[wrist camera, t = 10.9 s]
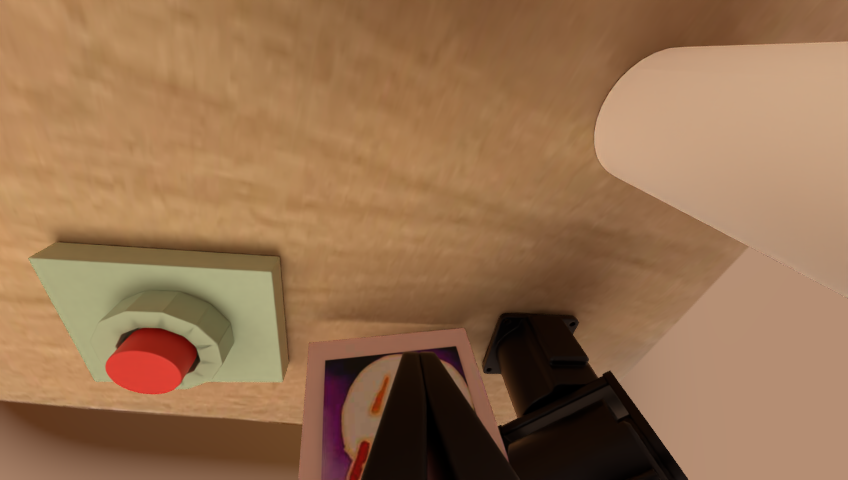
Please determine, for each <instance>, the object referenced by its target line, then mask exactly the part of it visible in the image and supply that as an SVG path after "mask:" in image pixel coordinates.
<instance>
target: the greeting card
mask: <svg viewBox="0 0 848 480" xmlns="http://www.w3.org/2000/svg"><path fill="white" fill-rule="evenodd" d="M405 351H415V352H418V353H420V352H434V353H435V354H436V355H437V356H438V358H439V359H440V361H441V362H442V364H443V365H444V367H445V368H446V370H447V371H448V373H449V374H450V376H451V377H452V379H453V380H454V382H455V383H456V385H457V386H458V388H459V389H460V391H461V392H462V394H463V395H464V396H465V398H466V399H467V401H468V402H469V404H470V405H471V407H472V408H473V410H474V411H475V413H476V414H477V416H478V417H479V419H480V420H481V422H482V423H483V425H484V426H485V428H486V429H487V431H488V432H489V434H490V435H491V437H492V438H493V440H494V441H495V443H496V444H497V446H498V447H499V449H500V450H501V452H502V453H503V455H504V456H505V458H506V459H507V461H508V456H507V453H506V450H505V447H504V444H503V441H502V438H501V435H500V432H499V429H498V426H497V423H496V420H495V417H494V414H493V411H492V408H491V405H490V402H489V399H488V396H487V393H486V390H485V388H484V385H483V382H482V379H481V376H480V373H479V370H478V367H477V364H476V361H475V358H474V355H473V352H472V349H471V346H470V343H469V340H468V337H467V334H466V331H465V328H458V329H448V330H437V331H427V332H417V333H406V334H396V335H385V336H375V337H365V338H354V339H344V340H333V341H323V342H313V343H309V350H308V363H307V376H306V389H305V402H304V415H303V428H302V440H301V453H300V466H299V480H361V477H362V474H363V471H364V468H365V465H366V462H367V459H368V456H369V453H370V450H371V447H372V444H373V441H374V438H375V435H376V432H377V429H378V426H379V423H380V420H381V417H382V414H383V411H384V408H385V405H386V402H387V399H388V396H389V393H390V390H391V387H392V384H393V381H394V378H395V375H396V372H397V369H398V366H399V363H400V360H401V357H402V354H403V352H405ZM508 462H509V461H508Z"/></svg>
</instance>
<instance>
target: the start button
mask: <svg viewBox="0 0 848 480" xmlns="http://www.w3.org/2000/svg"><path fill="white" fill-rule="evenodd" d="M196 357H197V349H196V347H195V346H194V345H193V344H192V343H191V342H190V341H189V340H187V339H186V338H185V337H184V336H181V335H179V334H176V333H173V332H170V331H167V330H165V329H162V328H141V329H138V330H136V331H134V332H133V333H132V334H131V335H130V336H129V337H128V338H127V339H126V340H125V341H124V342H123V343H122V344H121V345H120V346H119V348H118V349H117V350H116V351H115V352H114V353H113V354H112V355H111V356H110V357H109V358H108V360H107V362H106V365H105V369H106V372H107V374H108V376H109V377H110V378H111V379H112V380H113V381H114V382H115V383H116V384H118V385H120V386H121V387H123V388H126V389H128V390H131V391H134V392H138V393H144V394H161V393H166V392H169V391H172V390H174V389H175V388H177V387H178V386H179V385H180V383H181V382H182V380H183V379H184V377H185V375H186V374H187V372H188V371H189V369H190V367H191V366H192V364H193V363H194V361H195V359H196Z"/></svg>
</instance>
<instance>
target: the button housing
mask: <svg viewBox="0 0 848 480" xmlns="http://www.w3.org/2000/svg"><path fill="white" fill-rule="evenodd" d="M28 259H29V261H30V263H31V265H32V266H33V268H34V270H35V272H36V274H37V276H38V277H39V279H40V281H41V283H42V285H43V287H44V288H45V290H46V292H47V294H48V296H49V298H50V299H51V301H52V303H53V305H54V307H55V309H56V311H57V312H58V314H59V316H60V318H61V320H62V322H63V323H64V325H65V327H66V329H67V331H68V333H69V334H70V336H71V338H72V340H73V342H74V344H75V345H76V347H77V349H78V351H79V353H80V355H81V356H82V358H83V360H84V362H85V364H86V366H87V368H88V369H89V371H90V373H91V375H92V377H93V379H94V380H95V381H96V382H114V381H113V380H112V379H111V378H110V377H109V376H108V374H107V372H106V369H105V365H106V362H107V360H108V358H109V357H110V356H111V355H112V354H113V353H114V352H115V351H116V350H117V349H118V348H119V346H120V345H121V344H122V343H123V342H124V341H125V340H126V339H127V338H128V337H129V336H130V335H131V334H132V333H133V332H134V331H136V330H138V329H141V328H162V329H165V330H167V331H170V332H173V333H176V334H179V335H181V336H184V337H185V338H186V339H187V340H189V341H190V342H191V343H192V344H193V345H194V346H195V347H196V349H197V357H196V359H195V361H194V363H193V364H192V366H191V367H190V369H189V371H188V372H187V374H186V375H185V377H184V379H183V380H182V382H181V383H180V385H179V386H178V387H177V388H175V389H190V388H192V387H195V386H198V385H200V384H203V383H206V382H283V380H284V377H285V374H286V371H287V367H288V364H289V361H288V349H287V337H286V325H285V314H284V302H283V290H282V278H281V266H280V257H278V256H262V255H247V254H232V253H216V252H201V251H185V250H170V249H155V248H139V247H124V246H108V245H93V244H78V243H62V242H56V243H54V244H52V245H50V246H49V247H47V248H45V249H43V250H41V251H40V252H38V253H36V254H34V255H33V256H31V257H29V258H28Z"/></svg>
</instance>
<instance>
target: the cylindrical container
mask: <svg viewBox="0 0 848 480" xmlns="http://www.w3.org/2000/svg"><path fill="white" fill-rule="evenodd" d="M594 146H595V151H596V155H597V158H598V160H599V162H600V164H601V165H602V166H603V167H604V169H605V170H606V171H607V172H609V173H610V174H612V175H613V176H615V177H617V178H619V179H621V180H623V181H625V182H626V183H628V184H630V185H632V186H634V187H636V188H638V189H640V190H642V191H644V192H646V193H648V194H649V195H651V196H653V197H655V198H657V199H659V200H661V201H663V202H665V203H667V204H669V205H671V206H672V207H674V208H676V209H678V210H680V211H682V212H684V213H686V214H688V215H690V216H692V217H694V218H695V219H697V220H699V221H701V222H703V223H705V224H707V225H709V226H711V227H713V228H715V229H716V230H718V231H720V232H722V233H724V234H726V235H728V236H730V237H732V238H734V239H735V240H737V241H739V242H741V243H743V244H745V245H747V246H749V247H751V248H753V249H755V250H757V251H758V252H761V253H762V254H764V255H766V256H768V257H770V258H772V259H774V260H776V261H777V262H779V263H781V264H783V265H785V266H787V267H789V268H791V269H793V270H795V271H797V272H798V273H800V274H802V275H804V276H806V277H808V278H810V279H812V280H814V281H815V282H817V283H820V284H821V285H823V286H825V287H827V288H829V289H831V290H833V291H835V292H836V293H838V294H840V295H842V296H844V297H846V298H848V42H820V43H789V44H758V45H727V46H695V47H676V48H668V49H665V50H662V51H659V52H656V53H654V54H652V55H650V56H648V57H646V58H644V59H642V60H641V61H640V62H638V63H637V64H636V65H634V66H633V67H632V68H630V69H629V70H628V71H627V72H626V73H625V74H624V75H623V76H622V77H621V78H620V79H619V80H618V82H617V83H616V84H615V86H614V87H613V88H612V90H611V91H610V92H609V94H608V96H607V98H606V99H605V101H604V103H603V105H602V107H601V110H600V112H599V115H598V118H597V121H596V126H595V132H594Z"/></svg>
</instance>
